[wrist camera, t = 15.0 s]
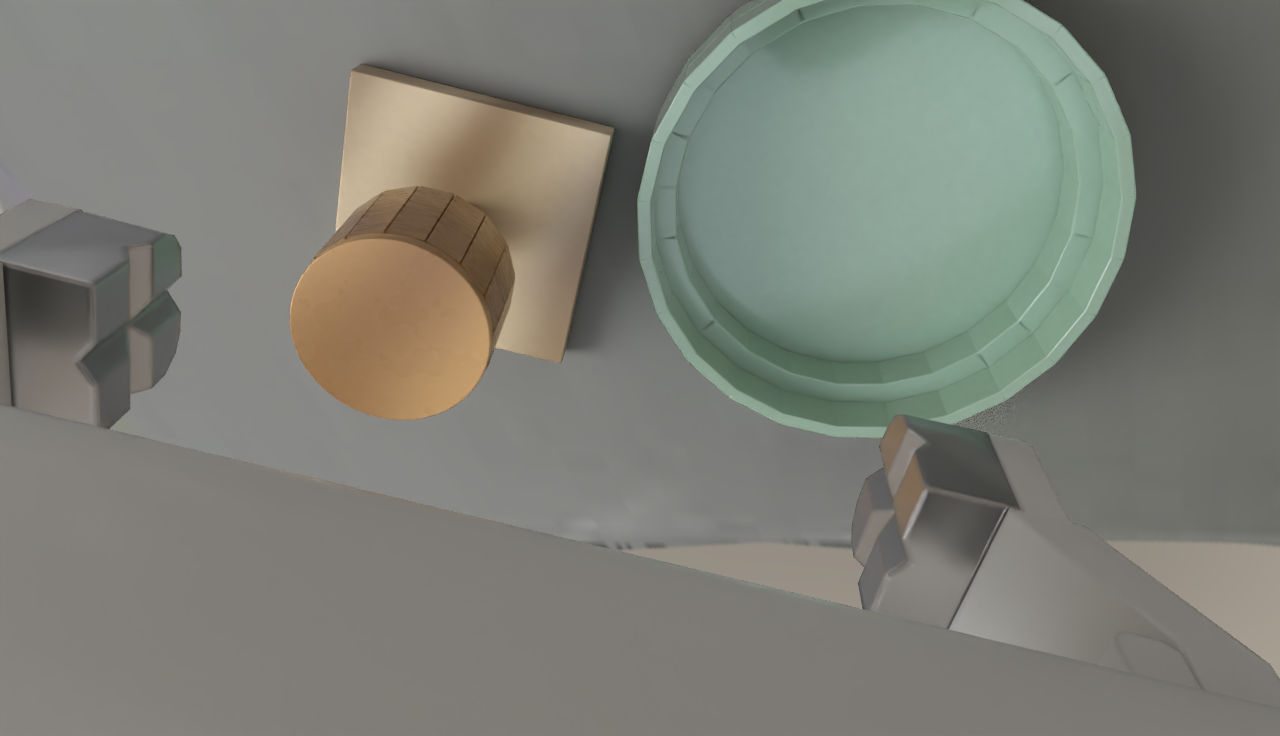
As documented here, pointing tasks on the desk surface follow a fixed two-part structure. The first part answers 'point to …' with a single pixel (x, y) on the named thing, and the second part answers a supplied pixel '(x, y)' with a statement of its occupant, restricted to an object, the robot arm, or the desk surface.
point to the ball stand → (487, 183)
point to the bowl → (883, 207)
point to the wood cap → (404, 304)
